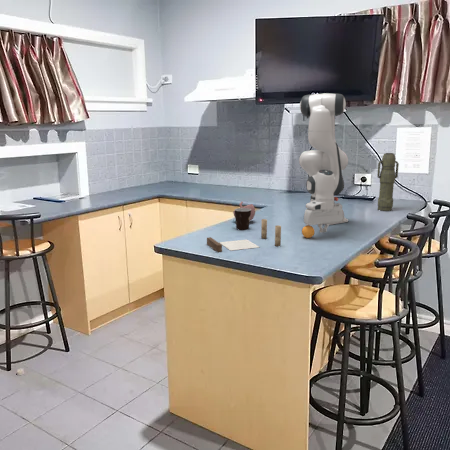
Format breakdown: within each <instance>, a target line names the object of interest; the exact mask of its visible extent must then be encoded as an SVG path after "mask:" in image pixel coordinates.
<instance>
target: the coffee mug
mask: <svg viewBox="0 0 450 450" xmlns="http://www.w3.org/2000/svg"><path fill="white" fill-rule="evenodd" d="M234 211H235V216H234V218H235V227H236V230H238V229H239V230H238V231H246V230H247V231H248V230H250V222H251V221H250V215H251V209H248V208H240V207H237V208H235V209H234Z"/></svg>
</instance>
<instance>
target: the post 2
mask: <svg viewBox="0 0 450 450" xmlns="http://www.w3.org/2000/svg"><path fill="white" fill-rule="evenodd" d="M274 227H275V229H274V246H275V247H281V244H282V243H281V242H282V241H281V240H282V225H275V226H274Z"/></svg>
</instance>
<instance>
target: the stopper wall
mask: <svg viewBox="0 0 450 450" xmlns="http://www.w3.org/2000/svg"><path fill="white" fill-rule="evenodd" d="M206 245H208V246H209V247H210V248H211V249H212V250H214V251H215V252H217V253H222V252H223V245H222V244H220V243H219V242H218V241H217V240H215V239H214V238H213V237H211V236H208V237H206Z"/></svg>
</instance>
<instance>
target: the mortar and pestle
mask: <svg viewBox="0 0 450 450" xmlns="http://www.w3.org/2000/svg"><path fill="white" fill-rule="evenodd" d="M243 204H244V201H240V202H239V208H248V209H251V215H250V222H251V221H252V220H253V219H254V217H255V215H256V207H255V205H254V204H252V203H251V204H247V205H245V206H243ZM232 214H233V216H234V217H235V210H234V211H233V212H232Z"/></svg>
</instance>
